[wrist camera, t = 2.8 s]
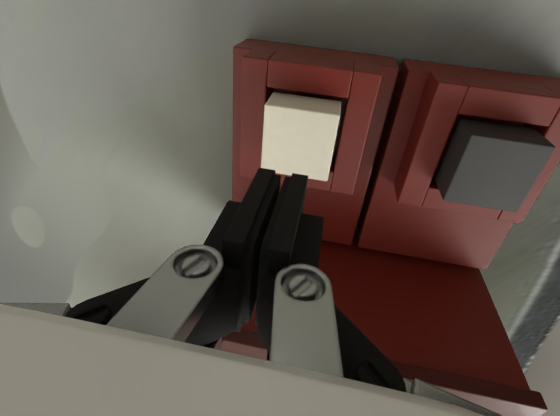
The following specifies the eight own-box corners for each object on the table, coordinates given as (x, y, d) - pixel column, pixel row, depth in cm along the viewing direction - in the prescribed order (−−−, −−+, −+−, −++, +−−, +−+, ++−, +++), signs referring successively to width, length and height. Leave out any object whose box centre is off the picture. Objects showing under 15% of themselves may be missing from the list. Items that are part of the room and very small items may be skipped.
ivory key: (273, 91, 16) (264, 104, 14) (341, 101, 16) (340, 115, 14) (268, 153, 18) (260, 171, 16) (329, 163, 17) (327, 182, 16)
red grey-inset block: (403, 57, 18) (415, 78, 14) (565, 77, 17) (623, 106, 13) (357, 224, 24) (357, 268, 21) (474, 244, 23) (496, 294, 20)
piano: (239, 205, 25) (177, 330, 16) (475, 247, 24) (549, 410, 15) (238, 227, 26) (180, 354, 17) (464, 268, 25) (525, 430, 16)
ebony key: (459, 117, 15) (471, 134, 14) (535, 128, 15) (557, 146, 13) (434, 179, 17) (442, 201, 15) (501, 190, 17) (517, 213, 15)
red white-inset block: (246, 37, 19) (220, 52, 15) (395, 56, 18) (405, 77, 14) (241, 204, 25) (222, 243, 21) (351, 223, 24) (351, 267, 21)
